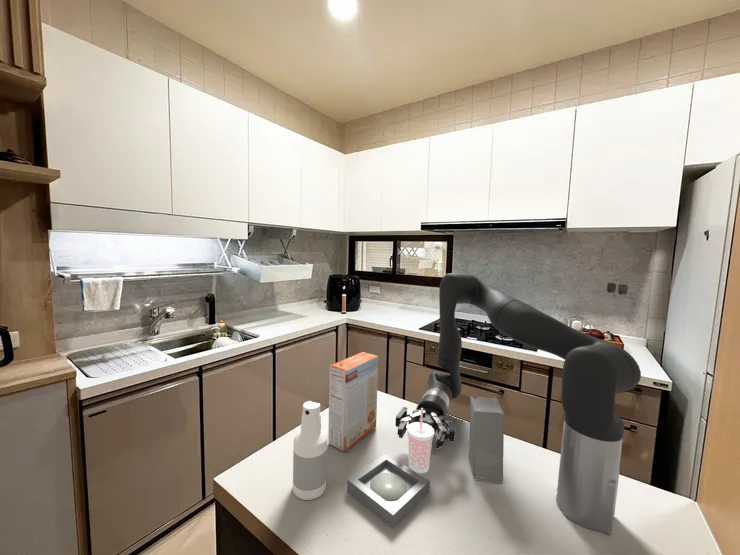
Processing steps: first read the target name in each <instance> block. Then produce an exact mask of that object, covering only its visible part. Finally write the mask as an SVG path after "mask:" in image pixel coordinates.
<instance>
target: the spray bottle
mask: <svg viewBox="0 0 740 555" xmlns="http://www.w3.org/2000/svg"><path fill="white" fill-rule="evenodd" d="M292 455H293V456H292V457H293V459H292V491H293V495H295V497H296V498H298V499H300V500H304V501H311V500H315V499H318V498H319V497H321V496H322V495H323V494H324V493H325V491H326V489H327V472H328V471H327V469H328V468H327V465H328V464H327V463H328V433H327V432H326V431H324V430H323V429H322V413H321V403H320V402H314V401H311V400H307V401H305V402H304V403H303V405H302V414H301V423H300V430H299V431H298V432H297V433H296V434H295V435H294V437H293V454H292Z"/></svg>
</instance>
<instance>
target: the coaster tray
mask: <svg viewBox="0 0 740 555" xmlns="http://www.w3.org/2000/svg"><path fill="white" fill-rule="evenodd" d="M430 483H431V482H430V480H429V479H428V478H426V477H424V476H423V475H421V473H417V472H415V471H413V470H412V469H410V467H409V466H407V465H405V464H404V463H402V462H400V461H398V460H397V459H395V458H394V457H392V456H391V455H389V454H387V453H384V454H382V455H381V456H380V457H378V458H377V459H376V460H374V461H372V462H371V463H369V464H368V465H366V466H364V468H362V469H361V470H359V471H358V472H357V473H355V474H353V475H352V476H351V477H349V478H348V479H347V484H346V485H347V486H346V488H347V489H346V492H348V493H349V494H350V495H351V496H353V497H354V498H355V499H356V500H357V501H359V502H360V504H362V505H364V506H365V508H367V509H368V510H370V511H371V512H372V513H373V514H375V515H376V516H377V517H378V518H379V519H380V520H382V521H383V522H385V524H387V525H388V526H389V527H390V528H392V529H394V527H396V525H397V524H398V523H399V522H400V521H402V519H403V518H404V517H405V516H407V514H408V513H410V512H411V511H412V510H413V509H414V507H415V506H417V504H419V503H420V502H421V501H422V500H423V499H424V498H425V497H426V495H428V494H429V493H430V485H431V484H430Z"/></svg>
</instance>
